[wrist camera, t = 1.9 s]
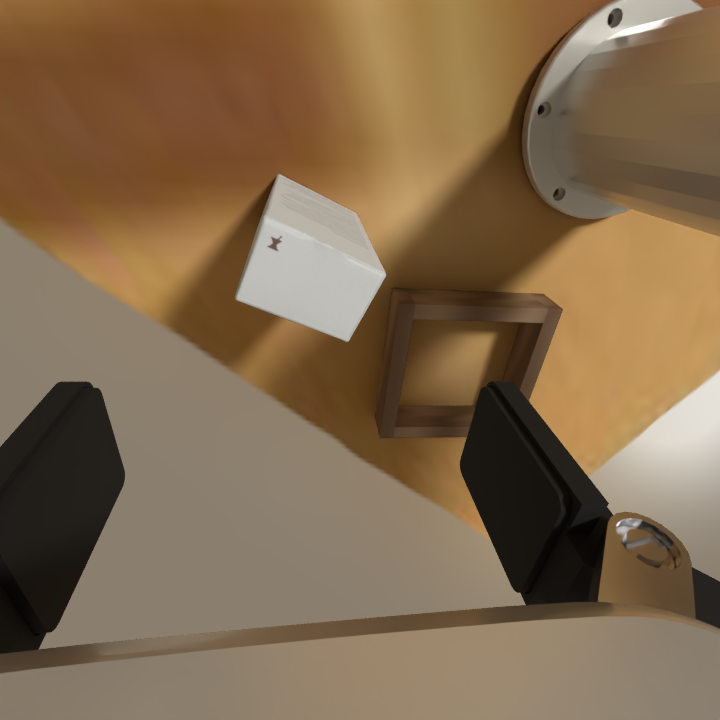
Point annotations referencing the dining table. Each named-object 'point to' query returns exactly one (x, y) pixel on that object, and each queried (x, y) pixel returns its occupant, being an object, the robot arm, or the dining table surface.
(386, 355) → the socket
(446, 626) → the robot arm
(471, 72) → the dining table surface
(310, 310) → the skincare box
